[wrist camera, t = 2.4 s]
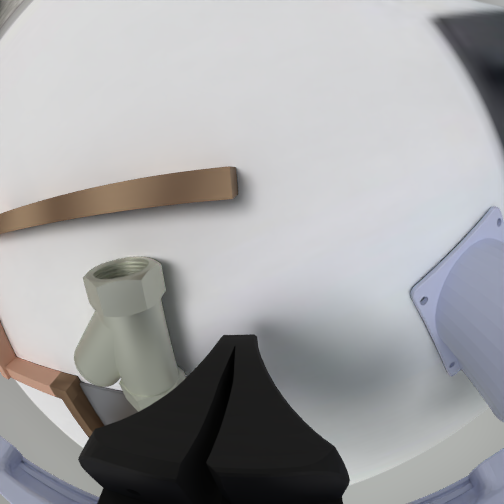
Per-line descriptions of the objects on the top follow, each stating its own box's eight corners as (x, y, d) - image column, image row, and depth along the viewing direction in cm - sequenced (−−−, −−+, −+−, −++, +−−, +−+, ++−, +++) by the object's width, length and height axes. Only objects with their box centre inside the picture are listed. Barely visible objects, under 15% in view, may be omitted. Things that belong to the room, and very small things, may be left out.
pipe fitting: (107, 363, 16) (193, 378, 15) (79, 396, 12) (172, 424, 11) (74, 255, 14) (169, 254, 13) (30, 279, 10) (128, 286, 9)
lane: (236, 167, 11) (229, 166, 9) (262, 451, 17) (261, 470, 15) (9, 211, 13) (-11, 217, 11) (94, 426, 18) (86, 440, 16)
